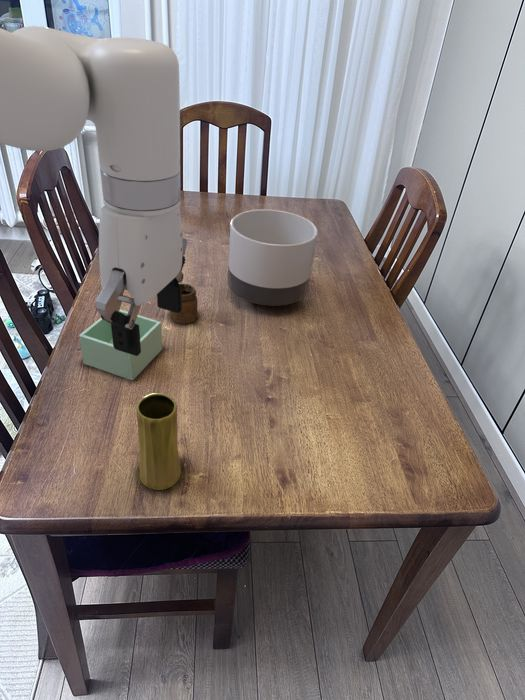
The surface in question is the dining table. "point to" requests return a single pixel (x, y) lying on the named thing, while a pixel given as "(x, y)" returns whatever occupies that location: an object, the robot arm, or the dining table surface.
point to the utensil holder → (187, 305)
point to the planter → (270, 256)
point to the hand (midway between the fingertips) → (149, 329)
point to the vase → (158, 441)
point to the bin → (108, 359)
